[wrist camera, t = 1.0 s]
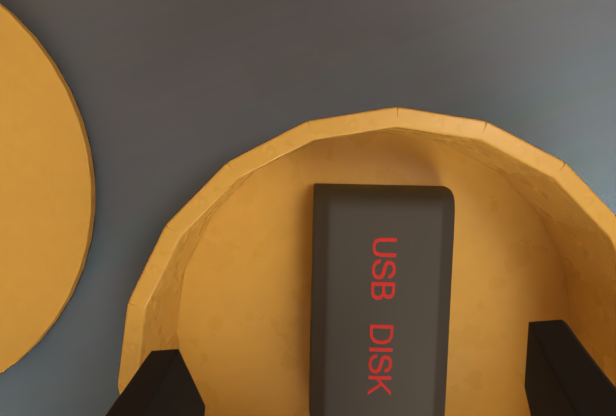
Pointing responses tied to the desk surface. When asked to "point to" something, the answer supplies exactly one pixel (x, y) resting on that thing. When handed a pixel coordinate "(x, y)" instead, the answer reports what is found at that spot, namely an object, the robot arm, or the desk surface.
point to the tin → (298, 261)
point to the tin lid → (38, 191)
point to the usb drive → (380, 299)
